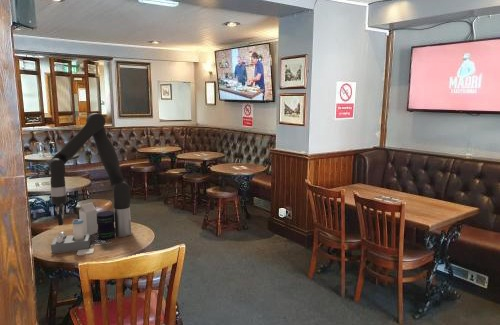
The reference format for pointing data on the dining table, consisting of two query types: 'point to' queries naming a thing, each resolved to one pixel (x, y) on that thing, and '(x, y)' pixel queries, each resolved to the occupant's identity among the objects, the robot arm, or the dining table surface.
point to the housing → (70, 244)
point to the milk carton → (89, 218)
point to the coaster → (85, 251)
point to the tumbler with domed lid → (78, 229)
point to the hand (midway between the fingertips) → (60, 224)
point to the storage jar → (106, 225)
